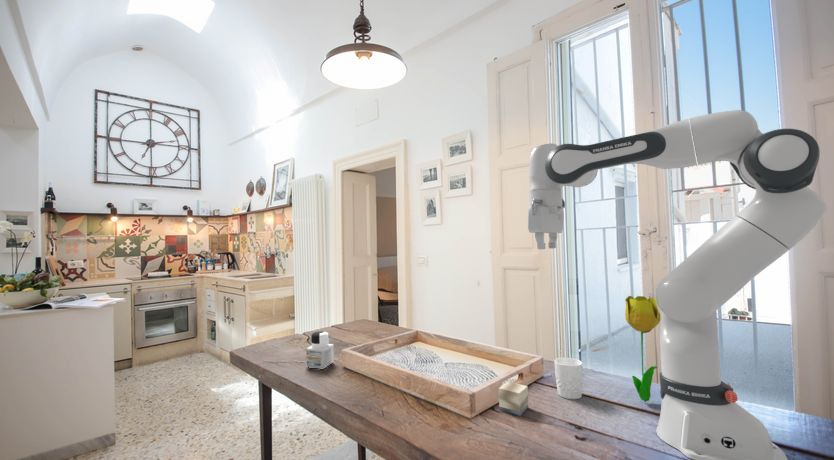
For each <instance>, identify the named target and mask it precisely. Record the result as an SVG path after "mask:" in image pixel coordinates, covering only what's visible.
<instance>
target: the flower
mask: <svg viewBox="0 0 834 460" xmlns="http://www.w3.org/2000/svg"><path fill="white" fill-rule="evenodd" d="M624 310H625V311H624V313H625V315H624V316H625V320H626V323H627V324H628V325H629V326H630V327H631V328H633V329H634V330H635V331H636V332H640V343H641V344H640V348H641V353H640V354H641V376H642V377H641V379H640V378H638V377H637V376H635V375H632V376H631V377H632V380H633V384H634V387H635V389H636V392H637V393H638V395H639V396H638V397H640V400H642V401H644V402H646V403H647V402H649V401H650V399H651V389H652V384H653V383H652V381H653V376H654V371H655V370H656V369H658V366H656V365H654V366H651V367H649V368H648V369H647V370H645V372H644V351H643V350H644V346H643V345H644V334H646V333H650V332H651V331H652V330H653V329H654V328H655V327H657V326H658V325H660V311H659V309H658V304H657V301H656V298H654V297H649V298H647V297H645V296H644V295H643V296H641V295H637V296H636V297H634V296H633V295H628V296H627V297H626V298H625V309H624Z"/></svg>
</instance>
